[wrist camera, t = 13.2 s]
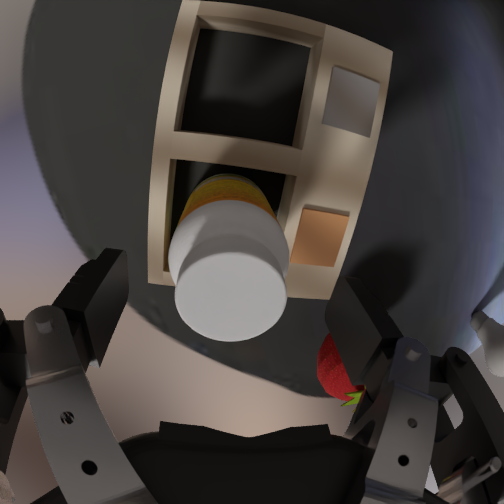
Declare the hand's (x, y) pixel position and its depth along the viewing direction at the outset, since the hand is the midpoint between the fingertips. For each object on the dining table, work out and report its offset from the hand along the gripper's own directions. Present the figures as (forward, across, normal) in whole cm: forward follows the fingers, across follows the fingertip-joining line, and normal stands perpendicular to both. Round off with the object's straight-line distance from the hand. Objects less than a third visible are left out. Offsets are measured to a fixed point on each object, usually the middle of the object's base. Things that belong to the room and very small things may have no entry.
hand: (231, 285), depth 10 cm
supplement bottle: (+9, 0, 0) cm, 9 cm away
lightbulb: (+10, -33, +8) cm, 36 cm away
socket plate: (+9, -2, -4) cm, 10 cm away
